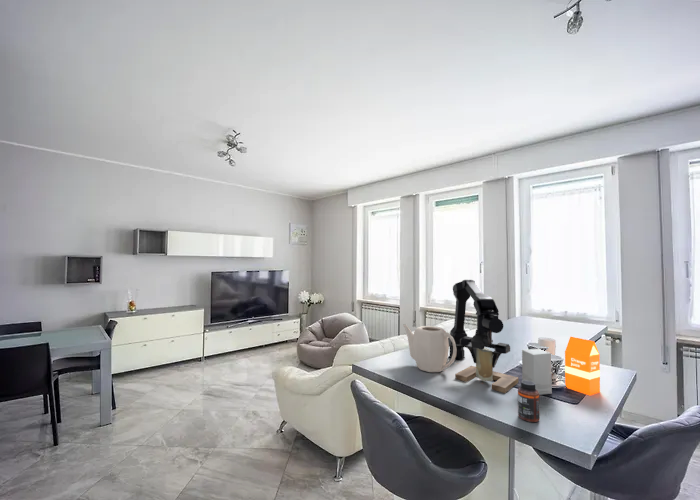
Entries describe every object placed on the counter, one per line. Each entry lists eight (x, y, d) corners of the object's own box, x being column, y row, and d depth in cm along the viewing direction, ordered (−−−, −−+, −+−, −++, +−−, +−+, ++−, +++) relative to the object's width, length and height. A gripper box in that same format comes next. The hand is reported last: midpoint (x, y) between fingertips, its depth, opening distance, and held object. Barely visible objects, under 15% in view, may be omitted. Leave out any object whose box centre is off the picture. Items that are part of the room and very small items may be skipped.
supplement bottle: (537, 415, 101) (536, 380, 102) (541, 424, 95) (541, 387, 96) (516, 412, 103) (516, 377, 104) (519, 421, 97) (519, 384, 98)
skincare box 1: (475, 375, 132) (475, 346, 133) (485, 375, 133) (485, 346, 133) (483, 381, 126) (483, 351, 127) (493, 381, 126) (493, 351, 127)
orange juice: (589, 395, 118) (589, 342, 119) (564, 387, 126) (564, 337, 126) (600, 392, 121) (599, 340, 122) (575, 384, 129) (575, 335, 130)
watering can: (410, 358, 160) (410, 321, 160) (462, 370, 143) (462, 329, 144) (394, 366, 147) (394, 325, 148) (449, 380, 131) (449, 334, 131)
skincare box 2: (539, 387, 124) (539, 348, 125) (553, 394, 118) (553, 353, 119) (521, 388, 123) (521, 349, 124) (533, 395, 117) (533, 353, 117)
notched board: (455, 378, 132) (455, 374, 132) (471, 370, 144) (471, 365, 144) (505, 393, 118) (505, 388, 118) (518, 382, 130) (518, 377, 130)
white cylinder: (550, 369, 146) (550, 337, 147) (558, 375, 140) (558, 341, 140) (535, 369, 147) (535, 337, 148) (543, 374, 140) (542, 340, 141)
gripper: (454, 326, 131) (454, 364, 131) (500, 334, 118) (500, 376, 117) (465, 323, 139) (465, 358, 138) (510, 330, 126) (510, 369, 125)
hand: (484, 365), depth 130 cm, fingers closed on skincare box 1, 7 cm apart
